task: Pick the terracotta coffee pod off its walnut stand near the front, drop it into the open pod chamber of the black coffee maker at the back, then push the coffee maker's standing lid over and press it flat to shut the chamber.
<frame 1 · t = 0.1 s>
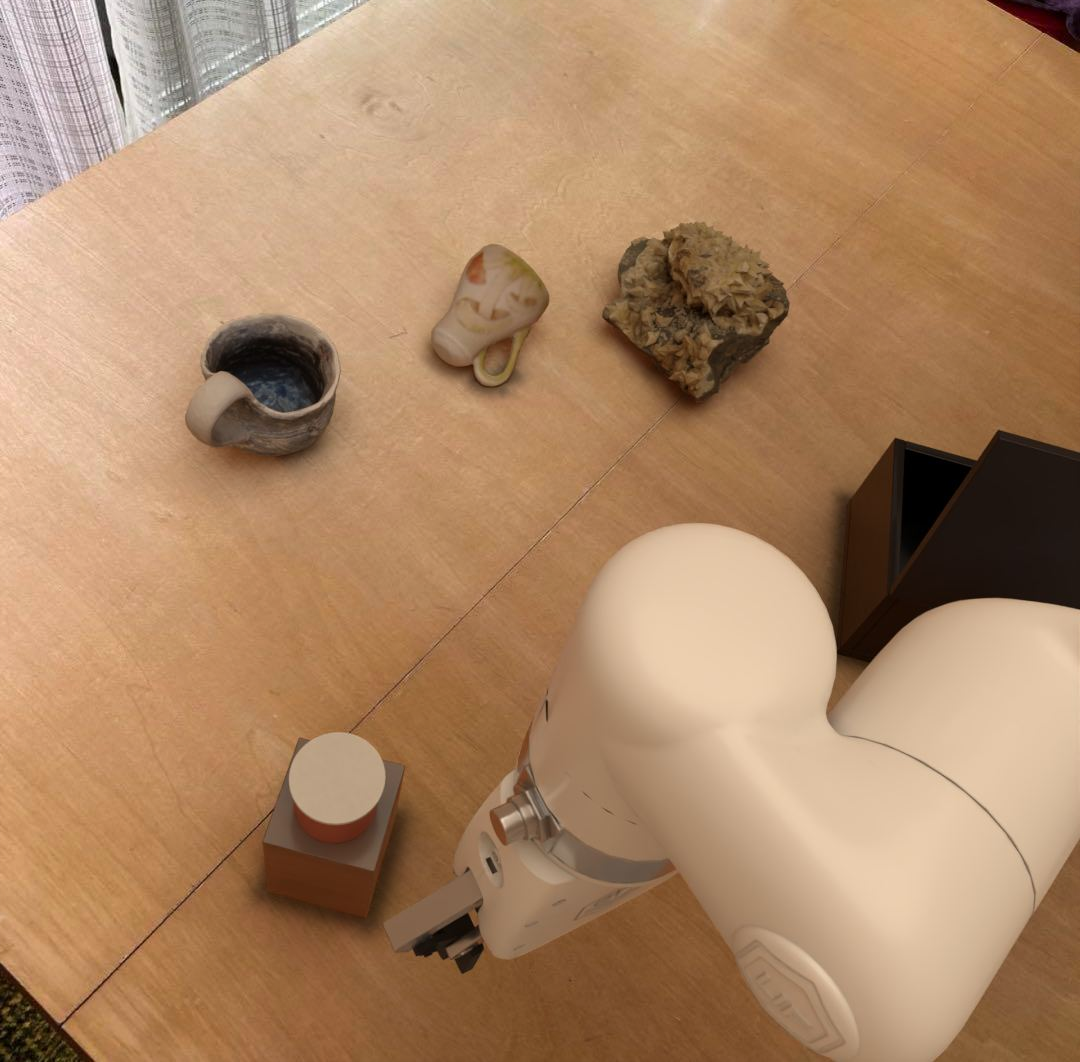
hand: (542, 895, 56), 15 cm above the table, tool pointing down, fingers open, 9 cm apart
mug 2: (263, 440, 85), on the table
mug: (482, 340, 94), on the table
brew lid: (1030, 544, 71), point 16 cm above the table, hinge at 80.0°
mineral specimen: (671, 337, 97), on the table
pod: (335, 802, 62), point 10 cm above the table, touching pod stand
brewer: (915, 595, 87), on the table
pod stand: (332, 856, 70), on the table
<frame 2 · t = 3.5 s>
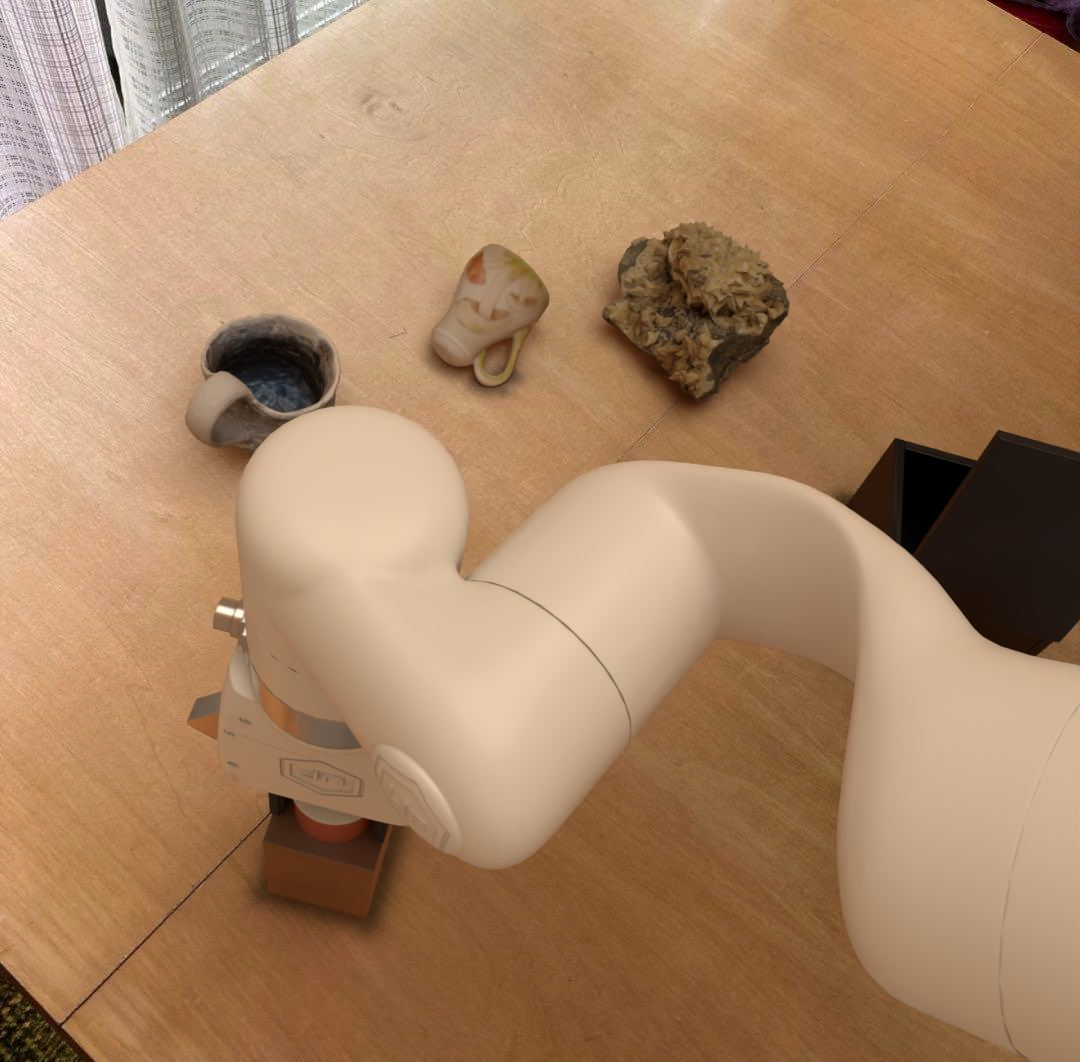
hand: (336, 800, 61), 10 cm above the table, tool pointing down, fingers closed on pod, 4 cm apart
pod: (335, 802, 62), point 10 cm above the table, touching gripper, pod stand
everything else where it was.
when the fingers open (8 cm above the table, at t = 15.1 s): pod stays where it is, resting on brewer.
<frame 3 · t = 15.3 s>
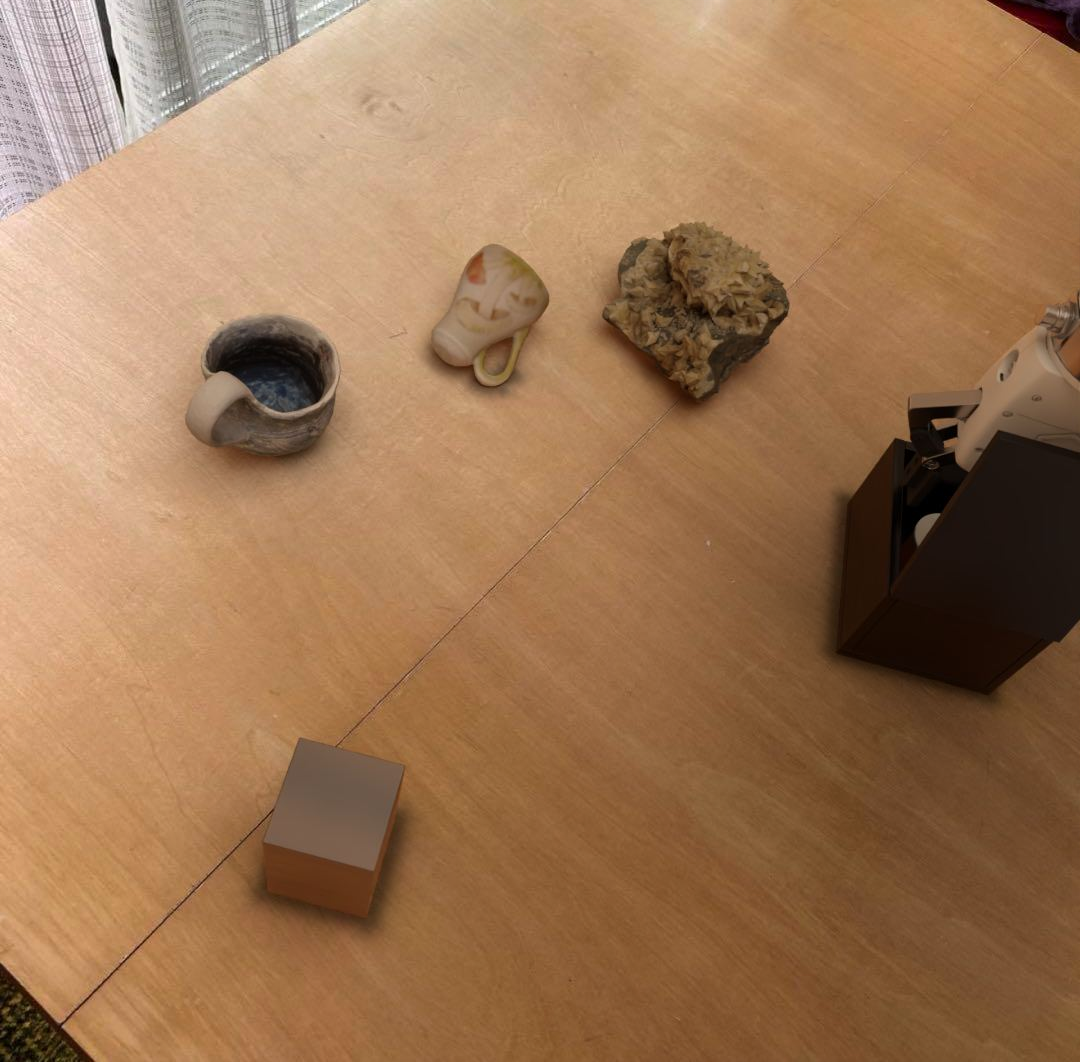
hand: (977, 508, 80), 10 cm above the table, tool pointing down, fingers open, 9 cm apart
pod: (922, 568, 88), point 1 cm above the table, touching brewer
everything else where it was.
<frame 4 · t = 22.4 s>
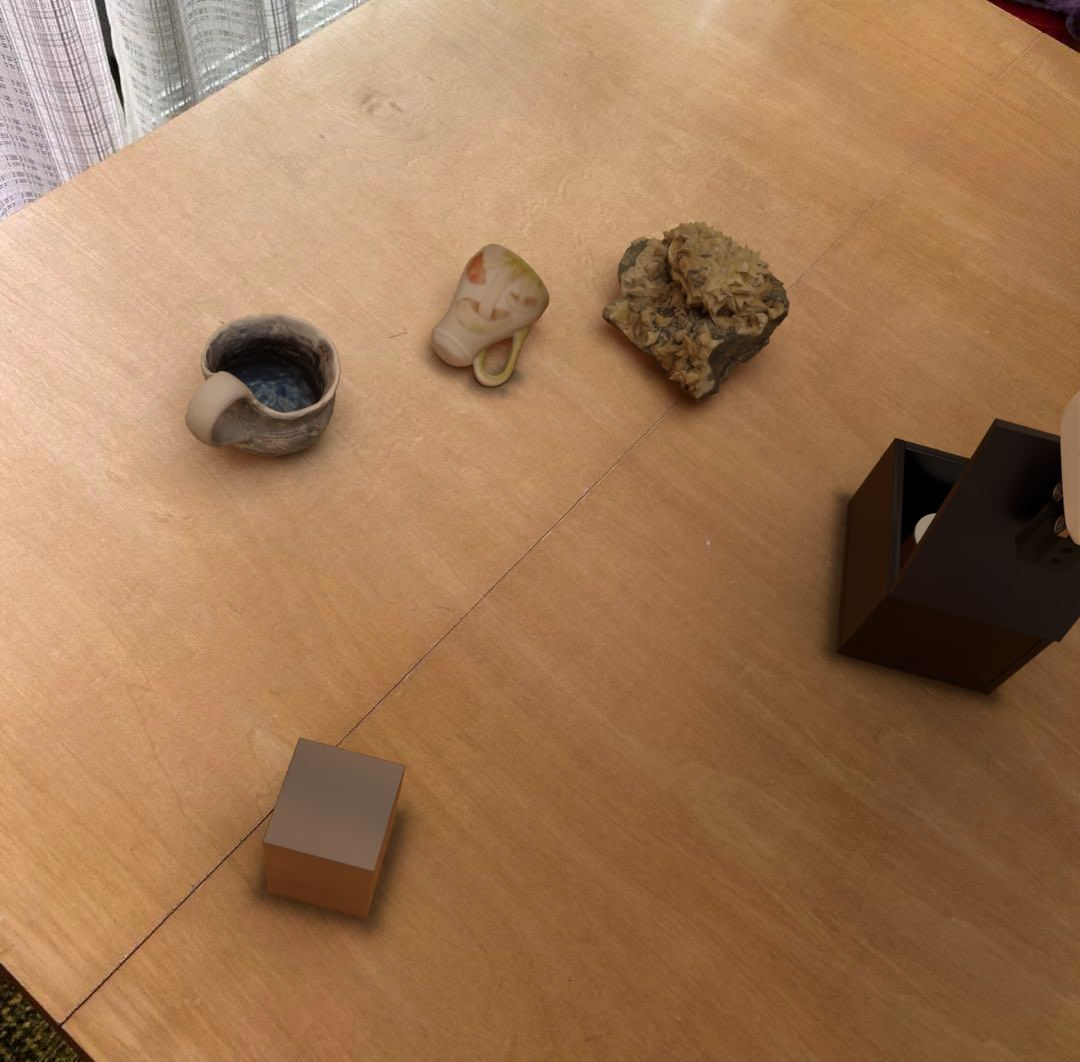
hand: (1038, 555, 69), 17 cm above the table, tool pointing down, fingers closed
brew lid: (1029, 537, 71), point 16 cm above the table, hinge at 75.5°
everything else where it was.
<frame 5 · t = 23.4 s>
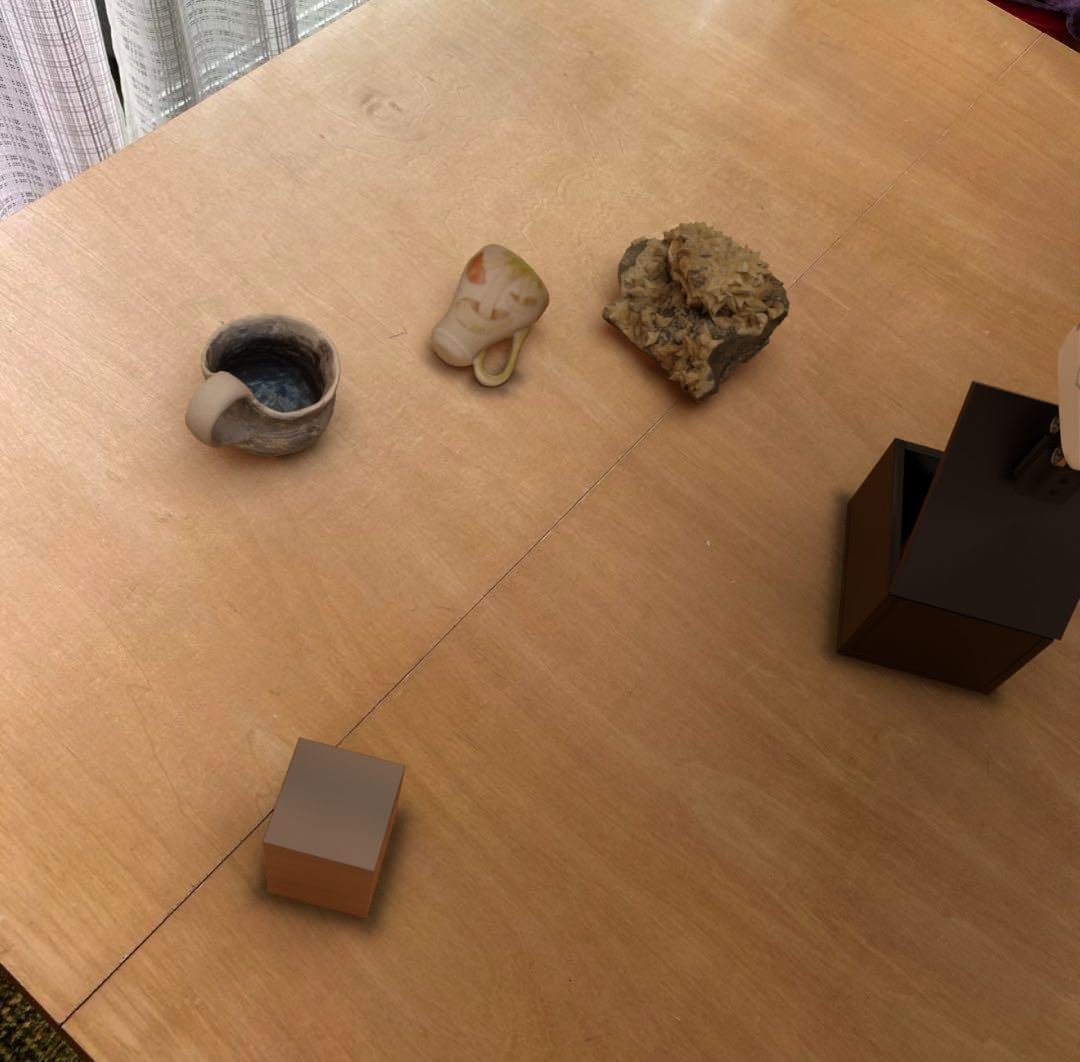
hand: (1036, 488, 72), 17 cm above the table, tool pointing down, fingers closed
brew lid: (1017, 514, 74), point 15 cm above the table, hinge at 51.8°, touching gripper
everything else where it was.
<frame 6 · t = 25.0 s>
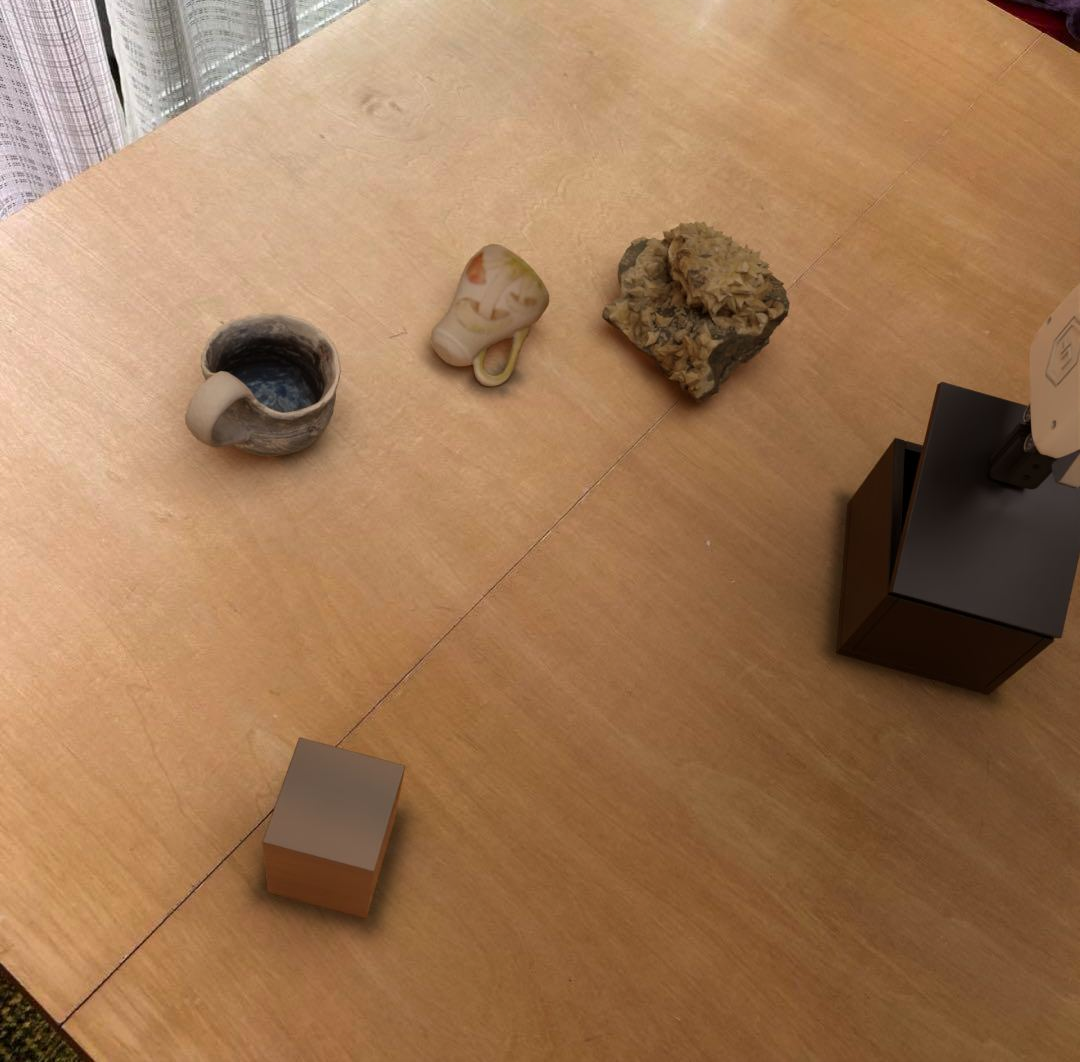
hand: (1011, 474, 76), 14 cm above the table, tool pointing down, fingers closed
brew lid: (998, 509, 77), point 13 cm above the table, hinge at 27.1°
everything else where it was.
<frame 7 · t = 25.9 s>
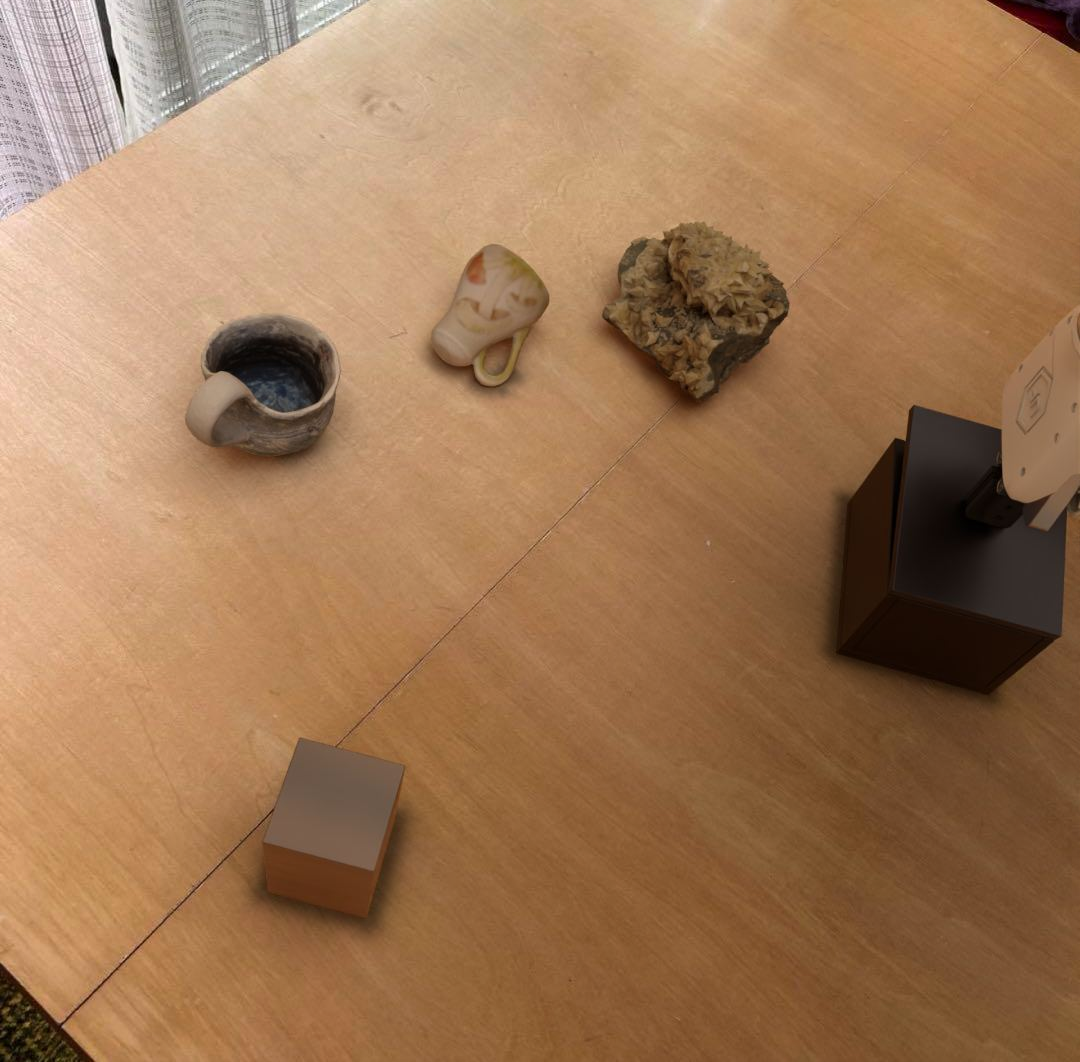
hand: (986, 513, 78), 11 cm above the table, tool pointing down, fingers closed
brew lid: (982, 518, 79), point 10 cm above the table, hinge at 8.6°, touching gripper
everything else where it was.
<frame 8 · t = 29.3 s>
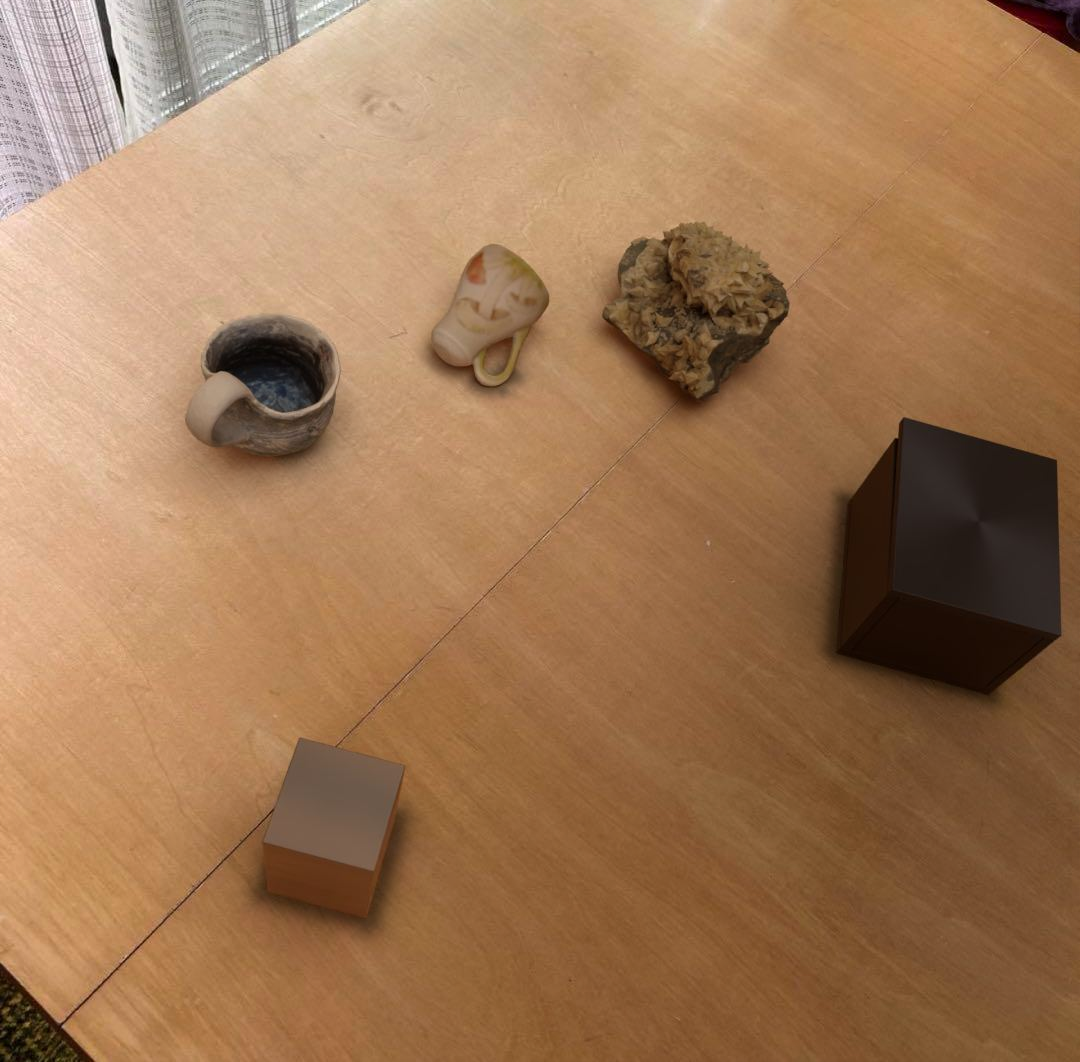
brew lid: (976, 524, 80), point 10 cm above the table, hinge at 2.0°
everything else where it was.
at the end: pod inside the target area in the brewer (2.0 cm from its centre), point 0.8 cm above the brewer's base; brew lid at +2° (first picture: +80°) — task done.
